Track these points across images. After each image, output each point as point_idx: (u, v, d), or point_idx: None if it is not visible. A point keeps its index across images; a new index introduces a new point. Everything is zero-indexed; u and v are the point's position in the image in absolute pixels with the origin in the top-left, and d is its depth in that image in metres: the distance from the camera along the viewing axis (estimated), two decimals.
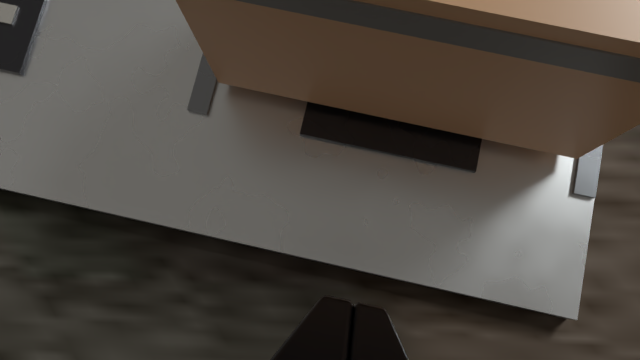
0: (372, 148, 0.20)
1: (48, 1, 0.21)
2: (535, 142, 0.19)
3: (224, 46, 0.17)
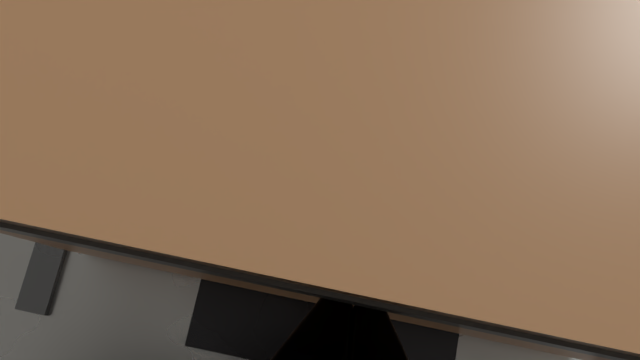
0: None
1: None
2: (540, 350, 0.12)
3: (33, 238, 0.10)
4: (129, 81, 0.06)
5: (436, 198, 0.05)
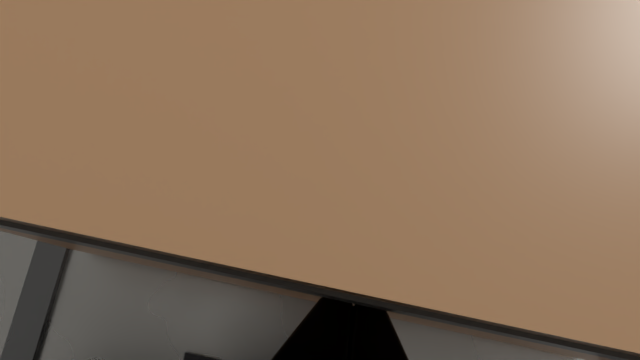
0: None
1: None
2: None
3: (35, 237, 0.10)
4: (133, 78, 0.06)
5: (445, 197, 0.05)
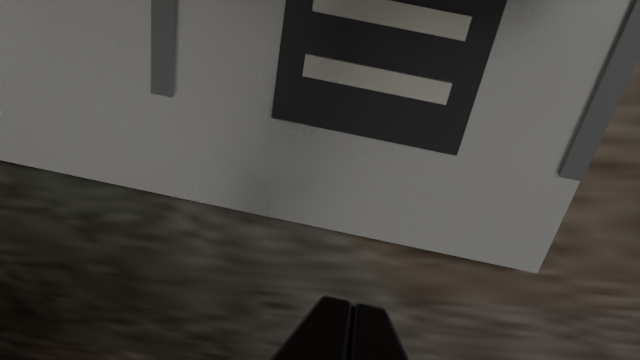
0: (347, 133, 0.19)
1: None
2: None
3: None
4: None
5: None
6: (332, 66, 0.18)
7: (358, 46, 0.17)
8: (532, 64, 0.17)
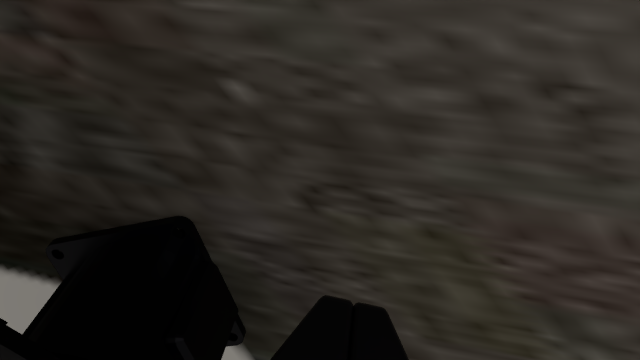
0: None
1: None
2: None
3: None
4: None
5: None
6: None
7: None
8: None
